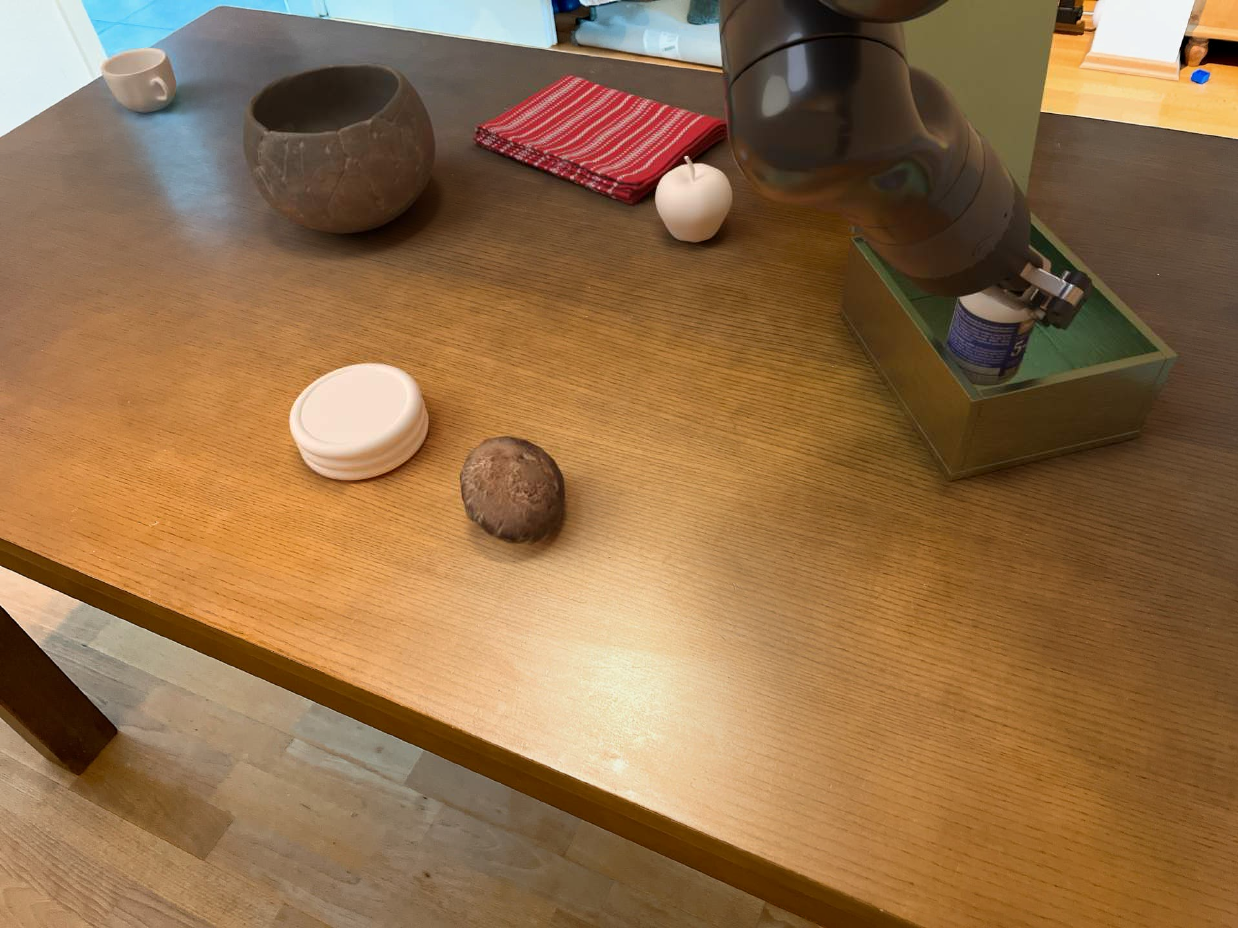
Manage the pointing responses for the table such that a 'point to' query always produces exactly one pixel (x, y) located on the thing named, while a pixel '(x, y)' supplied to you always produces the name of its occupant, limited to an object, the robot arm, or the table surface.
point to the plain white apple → (693, 201)
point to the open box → (1032, 400)
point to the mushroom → (512, 490)
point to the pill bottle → (988, 339)
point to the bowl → (339, 146)
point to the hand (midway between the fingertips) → (1013, 293)
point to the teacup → (141, 79)
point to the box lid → (990, 68)
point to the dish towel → (600, 137)
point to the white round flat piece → (359, 421)
